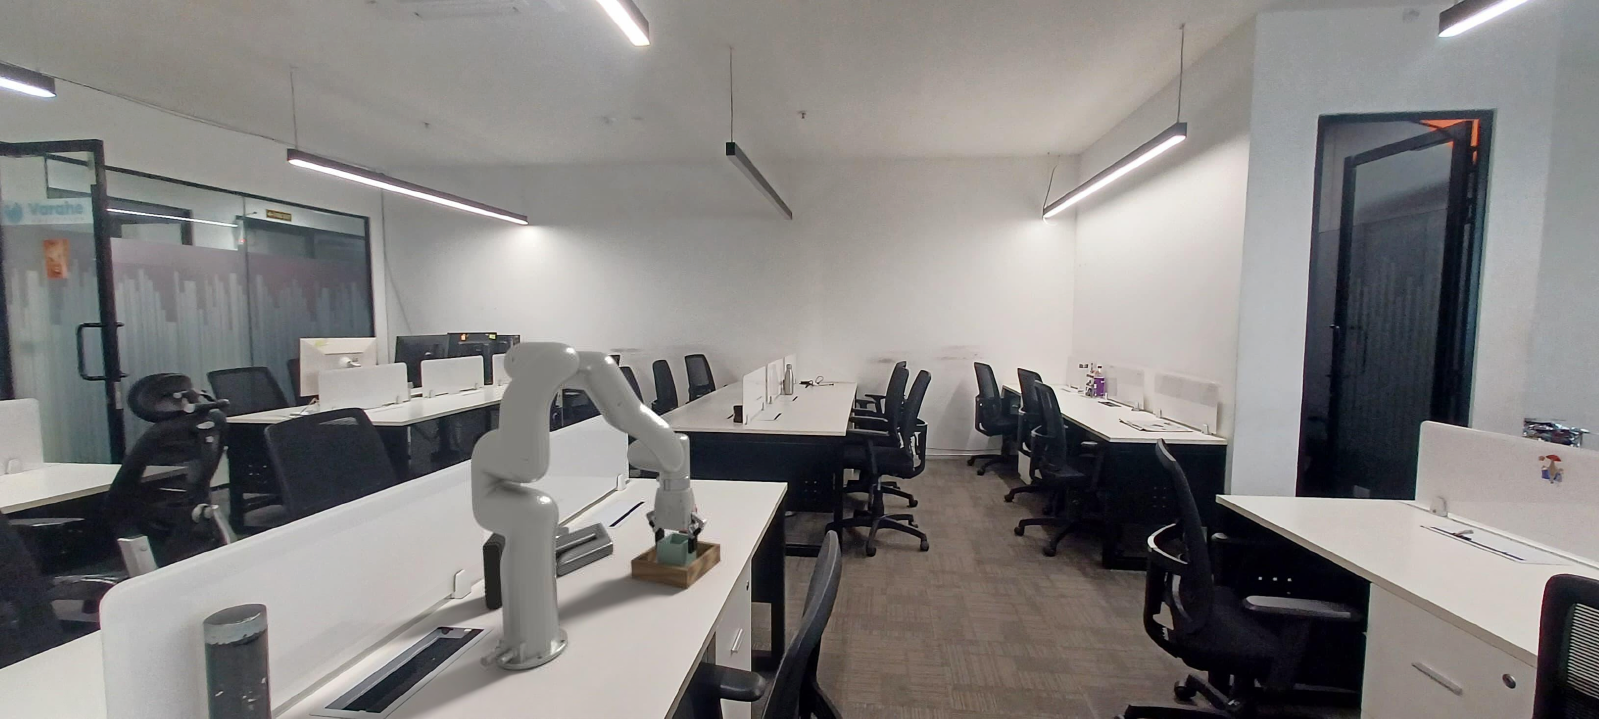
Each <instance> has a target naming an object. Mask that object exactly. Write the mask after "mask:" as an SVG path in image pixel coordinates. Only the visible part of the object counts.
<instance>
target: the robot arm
mask: <svg viewBox="0 0 1599 719" xmlns="http://www.w3.org/2000/svg"><path fill="white" fill-rule="evenodd" d="M503 357H504V358H503V367H504V368H503V369H504V371H505V374H507V376H508V377H509V378H510V379H511V380H510V382H509V383H508V385H507V386H506V388H505V390H504V392H503V394H502V397H501V400H500V403H499V418H498V428H495V429H492V430H490V431H488V432H486V433H485V434H483V435H482V436H481V437H480V438H479V439H478V440H477V442H476V443H475V445H474V447H473V450H472V453H471V457H470V458H471V459H470V477H471V478H470V482H471V485H470V486H471V507H472V508H471V510H472V513H473V518H474V519H475V521H476V523H477V524H478V526H479V527H481V528H483V529H484V530H486V531H489V532H492V533H496V534H499V535H501V536H504V537H505V539H506V543H505V547H504V550H503V553H502V556H501V562H500V576H501V592H502V606H501V608H502V609H501V610H502V629H503V635H502V636H500V637H498V645H497V646H495V648H494V650H492V651H490V652H488V653H487V654H485V655H484V656H482V657H481V658H480V665H481V666H482V667H483V668H485V669H486V668H488V667H489V666H491V665H493V664H495V663H496V664H497V665H498V666H499V667H501V668H503V669H506V670H525V669H530V668H534V667H537V666H542V665H543V664H545V663H548V662H550V661H552V660H553V659H555V658H556V657H558V656H559V655H560V654H561V653H562V652H564V650H565V649H566V648H567V646H568V643H569V642H568V641H569V636H568V633H567V630H566V631H565V630H564V629H563V628H560V626H559V608H558V607H559V605H558V583H557V574H556V565H557V563H556V553H555V548H556V534H557V528H559V521H560V512H559V511H560V509H559V507H558V503H557V502H556V500H555V499H554V498H553V497H552V496H551V495H550V494H549V493H547V492H545V491H543V490H540V489H536V488H532V487H528V486H525V485H524V486H523V485H521V484H530V483H531V484H533V483H535V482H539V481H540V480H542V479H543V478H544V476H545V475H546V474H547V472H548V470H549V468H550V463H551V462H550V460H551V445H550V444H551V440H550V439H551V438H550V436H551V435H550V433H551V432H550V415H551V412H550V411H551V406H552V403H553V401H554V399H555V397H556V395H557V394H558V393H559V391H561V389H570V390H583V391H584V392H585V393H586V394H587V396H588V397H589V399H590V400H591V402H592V403H593V404H594V406H595V407H596V409H597V410H598V411H599V413H600V415H601V416H602V418H603V419H604V420H605V422H606V423H607V424H609V425H610V426H611V427H613V428H615V429H617V430H618V431H620V432H622V433H624V434H627V435H629V436H630V437H632V438H634V439H635V440H634V441H633V442H632V443H631V444H630V445H629V446H628V448H627V450H626V459H627V462H628V463H629V464H630V465H631V466H632V467H634V468H636V469H638V470H644V471H647V472H648V471H649V472H657V473H659V476H656V480H655V481H656V482H657V483H658V482H659V487H657V489H656V490H655V496H654V504H653V506H654V507H653V510H651V511H649V512H646V514H645V517H646V519H647V521H648V525H649V526H650V528H652V529H651V530H652V532H653V533H654V545H655V548H657V542H658V541H660V540H661V539H663V538H664V537H666V535H665V534H666V532H665V530H668V531H669V530H670V531H675V532H679V531H686V532H687V534H688V535H689V537H690V538H688V553H689V554H692V553H693V552H694V551H696V550H697V547H698V541H699V538H698V539H697V535H698V536H699V535H700V534H701V533H702V532H703V531H704V528H705V527H706V524H707V519H705V518H704V517H702V516H701V515H699V514H698V512H697V513H696V509H695V504H696V501H695V500H696V499H695V495H694V491H693V487H691V472H690V471H691V468H690V467H691V466H690V465H691V463H690V462H691V461H690V460H691V459H690V450H691V449H690V438H689V436H688V435H686V434H685V433H678V432H677V433H675V431H674V429H673V428H672V427H671V426H670V424H668V422H666V421H665V420H664V419H663V418H661V416H659V415H658V414H657V413H656V412H654V411H653V410H652V409H651V408H650V407H648V406H647V405H645V404H644V403H643V402H642V401H641V400H640V399H639V397H638V396H637V394H636V392H635V391H634V389H633V388H632V386H631V384H630V383H629V381H628V380H627V378H626V376H625V375H624V373H623V372H622V370H621V369H620V368H621V367H619V365H618V364H617V362H616V360H615V359H614V358H613V357H612V356H611V355H609V354H608V353H606V352H601V351H588V350H587V351H586V350H585V351H584V350H576V349H575V348H574V347H572V345H569V344H566V343H563V342H558V341H557V342H555V341H524V342H518V343H516V344H515V345H513V346H511V347H510V348H508V349H507V351H506V352H505V354H504V356H503ZM696 522H697V524H698V527H696V526H695V523H696ZM690 528H691V529H692V530H691V529H690ZM692 531H693V532H692Z"/></svg>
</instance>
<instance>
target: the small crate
mask: <svg viewBox="0 0 1599 719" xmlns="http://www.w3.org/2000/svg"><path fill="white" fill-rule="evenodd" d="M688 538H690V537H689V535H688V534H682V533H679V532H677V531H675V532H674V531H672V532H670V533H669V534H667V535H665V537H664V538H663V539H661V540H660V541H658V542H657V563H660V564H666V565H672V566H677V567H683V568H686V567H687V566H689V565H690V564H691V563H693V562H694V561H695V560H696V551H694V552H693V553H692V554H689V553H688Z"/></svg>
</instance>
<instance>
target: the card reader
mask: <svg viewBox="0 0 1599 719" xmlns="http://www.w3.org/2000/svg"><path fill="white" fill-rule="evenodd" d="M505 543H506V539H505V537H504V536H501V535H499V534H496V533H494V532H492V534H491V535H490V536H489V538H487V540H486V542H485V543H484V544H483V546H482V559H483V560H482V562H483V577H484V579H483V580H484V598H485V599H484V602H485V606H486V608H487V609H489V610H490V609H499V608H502V592H501V576H500V562H501V556H502V553H503V550H504V547H505Z"/></svg>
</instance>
